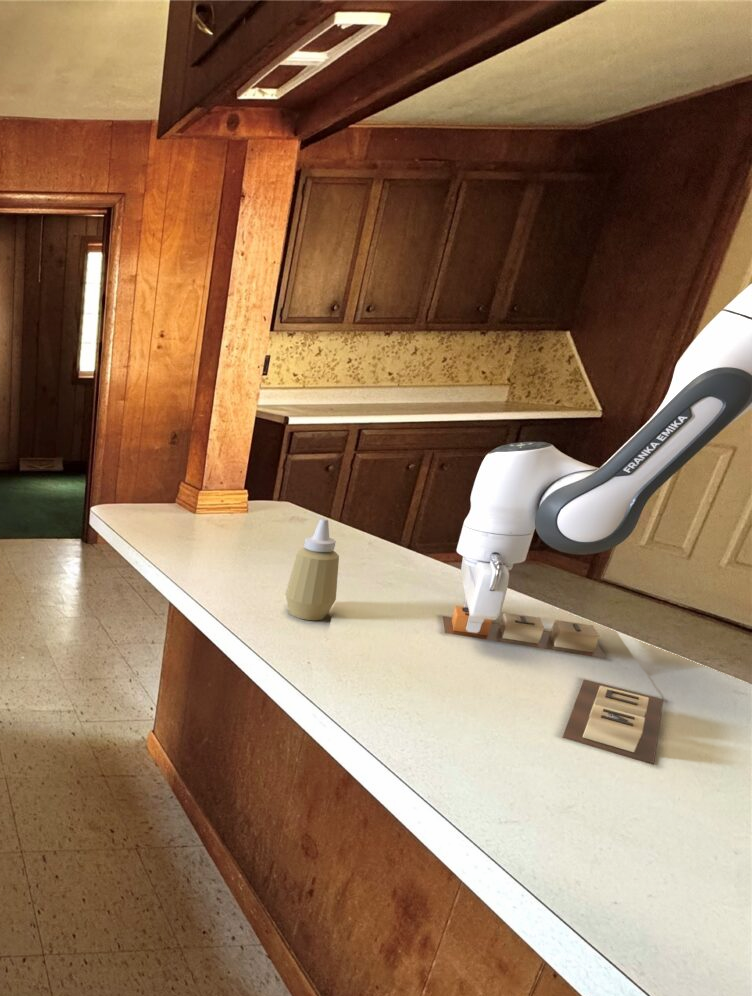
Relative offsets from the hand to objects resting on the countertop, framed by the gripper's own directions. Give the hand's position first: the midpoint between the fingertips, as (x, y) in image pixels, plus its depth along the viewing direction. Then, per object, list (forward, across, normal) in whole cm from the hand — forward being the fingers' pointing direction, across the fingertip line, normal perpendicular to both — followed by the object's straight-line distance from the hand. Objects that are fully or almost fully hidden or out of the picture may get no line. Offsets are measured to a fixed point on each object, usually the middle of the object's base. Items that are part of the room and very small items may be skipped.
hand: (470, 624), depth 110 cm
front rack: (+2, -24, -14) cm, 28 cm away
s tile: (+1, 0, 0) cm, 1 cm away
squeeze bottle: (+2, -4, +24) cm, 24 cm away
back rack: (+2, 0, -6) cm, 7 cm away
